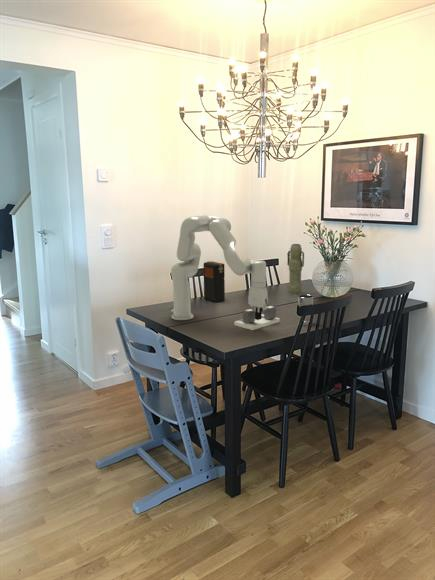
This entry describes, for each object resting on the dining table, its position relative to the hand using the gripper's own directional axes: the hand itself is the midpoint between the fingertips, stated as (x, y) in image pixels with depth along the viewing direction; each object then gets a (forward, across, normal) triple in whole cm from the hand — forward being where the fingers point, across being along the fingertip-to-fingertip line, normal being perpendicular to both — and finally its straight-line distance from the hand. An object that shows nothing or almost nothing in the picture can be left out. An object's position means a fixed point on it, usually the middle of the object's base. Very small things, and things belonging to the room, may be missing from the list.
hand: (258, 319), depth 241 cm
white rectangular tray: (+5, -7, +6) cm, 11 cm away
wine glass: (+5, +11, +26) cm, 28 cm away
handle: (+2, -3, +13) cm, 14 cm away
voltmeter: (+5, -65, +28) cm, 71 cm away
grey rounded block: (+3, -7, 0) cm, 7 cm away
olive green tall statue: (+5, -37, +78) cm, 87 cm away
